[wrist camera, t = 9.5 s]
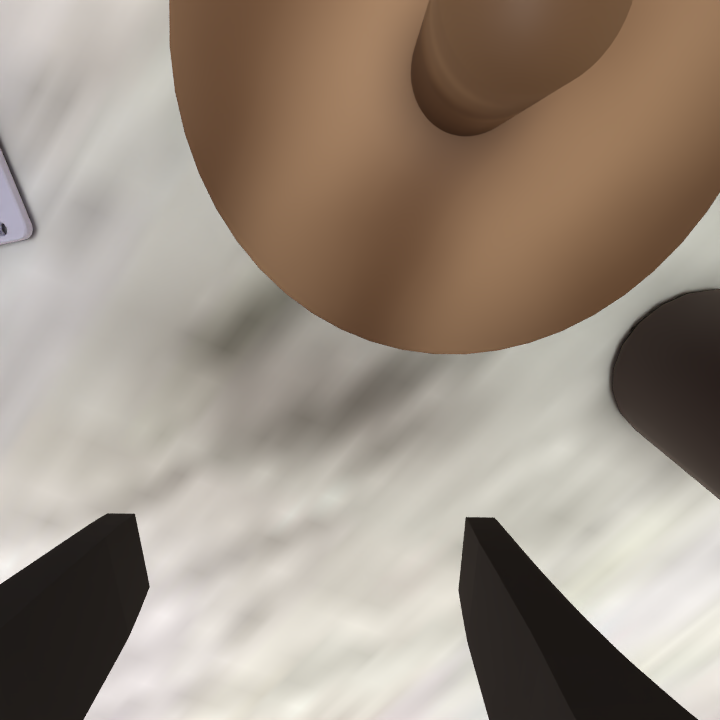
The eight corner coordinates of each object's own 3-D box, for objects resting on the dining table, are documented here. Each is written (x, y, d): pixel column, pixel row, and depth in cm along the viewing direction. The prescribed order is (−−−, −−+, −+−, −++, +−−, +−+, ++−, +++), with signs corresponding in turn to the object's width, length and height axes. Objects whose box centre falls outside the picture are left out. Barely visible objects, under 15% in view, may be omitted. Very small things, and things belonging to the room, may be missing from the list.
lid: (166, 295, 14) (51, 345, 9) (207, -431, 9) (-3, -1270, 4) (619, 385, 14) (753, 479, 9) (888, -232, 10) (1460, -711, 5)
